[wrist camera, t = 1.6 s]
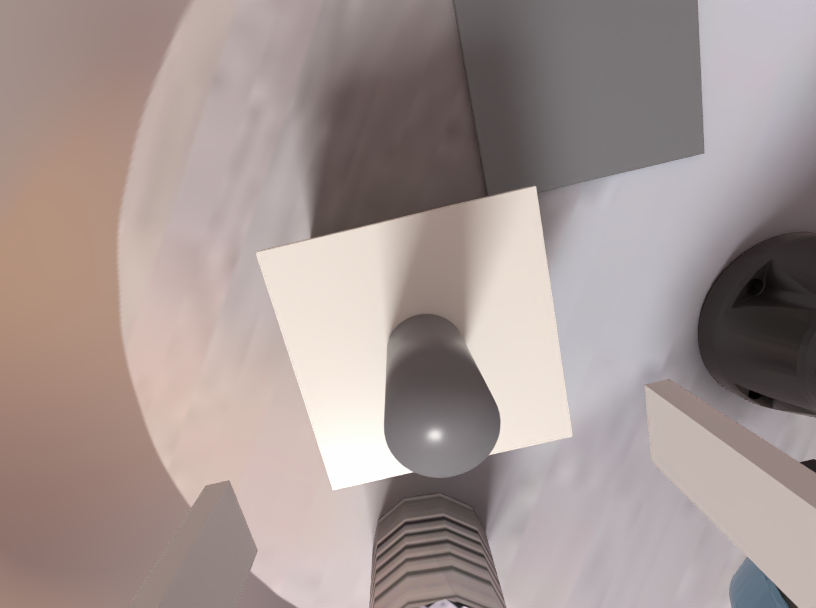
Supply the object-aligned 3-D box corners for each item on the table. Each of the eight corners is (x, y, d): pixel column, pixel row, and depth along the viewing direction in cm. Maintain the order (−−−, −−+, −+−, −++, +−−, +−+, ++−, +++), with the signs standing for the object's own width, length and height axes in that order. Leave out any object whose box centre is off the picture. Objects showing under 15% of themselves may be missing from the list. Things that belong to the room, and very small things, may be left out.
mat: (687, -103, 28) (692, -108, 27) (699, 153, 32) (704, 153, 32) (445, -42, 28) (446, -47, 28) (488, 204, 32) (490, 204, 32)
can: (402, 602, 42) (406, 756, 30) (350, 520, 39) (332, 654, 28) (504, 560, 41) (547, 701, 30) (458, 473, 38) (486, 591, 27)
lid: (522, 187, 23) (619, 177, 13) (557, 417, 27) (654, 543, 17) (268, 247, 24) (177, 281, 14) (337, 466, 27) (306, 619, 17)
